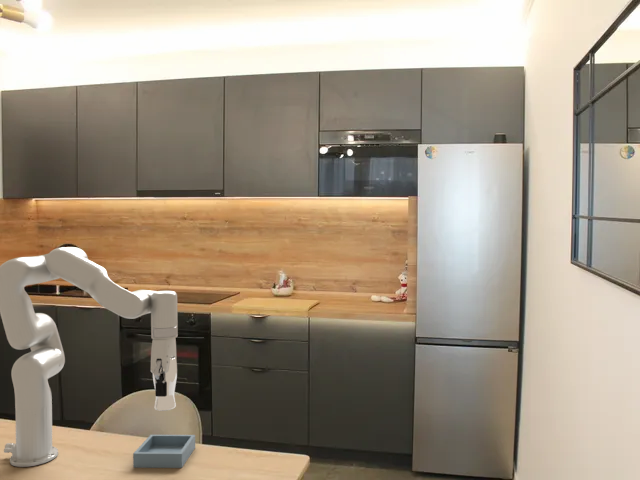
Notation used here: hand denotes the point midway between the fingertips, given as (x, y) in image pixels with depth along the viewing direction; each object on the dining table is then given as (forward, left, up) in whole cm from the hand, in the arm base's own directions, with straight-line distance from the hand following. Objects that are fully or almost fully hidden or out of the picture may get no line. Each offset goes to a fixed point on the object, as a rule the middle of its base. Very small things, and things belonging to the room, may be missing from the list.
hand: (165, 391), depth 154 cm
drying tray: (0, 0, -20) cm, 20 cm away
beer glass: (0, 0, -5) cm, 5 cm away
